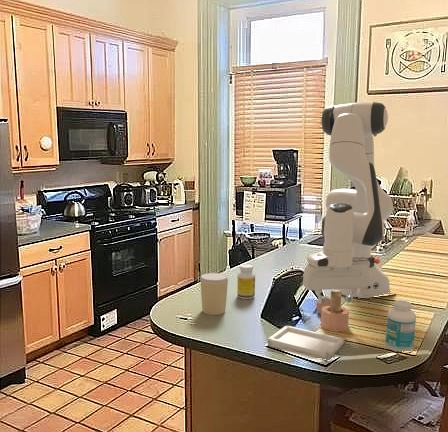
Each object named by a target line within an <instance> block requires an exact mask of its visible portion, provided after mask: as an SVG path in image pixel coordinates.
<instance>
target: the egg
mask: <svg viewBox="0 0 448 432" xmlns="http://www.w3.org/2000/svg"><path fill="white" fill-rule="evenodd" d="M322 296H323V297H324V298H325V301H324V302H325V303H324V304H319V303H318V301H317V302H316V306H315V308H316V311H317V312H316V313H317V314H319V315H320V316H321V309H322V307H325V306H330V298H329V296H326V295H322Z"/></svg>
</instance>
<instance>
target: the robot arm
mask: <svg viewBox="0 0 448 432" xmlns="http://www.w3.org/2000/svg"><path fill="white" fill-rule="evenodd" d="M388 119H389V113H388V110H387V109H386V106H385V105H384V103H381V102H376V101H375V102H374V101H373V102H360V101H359V102H352V103H351V102H350V103H343V104H338V105H335V104H333V105H329V106H326V107H325V108H324V110H323V111H322V114H321V119H320V120H321V121H320V124H321V128H322V131H323V132H324V133H325V134H326V135H327V136H330V140H329V150H328V153H329V156H328V157H329V163H330V165H331V167H332V168H333V169H334V170H335V171H336V172H337V173H339V174H341V175H342V176H344V177H345V178H346V179H348V180H349V181H350V182H351V183H352V185H353V186H354V188H345V187H344V188H337V189H336V188H335V189H332V190H330V192H329V193H328V194H327V195H326V198H325V207H326V212H325V216H324V217H323V218H322V220H321V236H322V237H323V238H324V243H323V246H322V250H320V251H318V252H315V253H312V254H311V253H310V254H309V255H307V257H306V261H307V262H308V263H307V264H306V265H305V267H304V269H303V277H302V285H303V287H304V288H305V289H306V290H307V291H314V293H315V294H316V296H317V302H318V303H319V304H324V303H325V302H324V301H325V298H324V297H323V296H324V295H321V294H322V291H323V290H339V291H341V292H342V293H341V296H345V301H346V302H347V303H353V302H354V299H353V298H356V297H358V298H357V299H360V298H369V297H374V296H379V295H384V294H391V293H390V292H391V291H390V287H391V286H390V280H389V278H388V276H387V274H385V272H383V271H382V270H381V269H379V268H378V267H377V266H375V264H376V265H379V264H380V263H381V259H380V258H378V257H373V256H372V247H374V246H376V245H377V244H378V243H379V244H380V242H381V241H383V240H384V236H385V224H384V221H386V220H388V219H389V218H390V216H391V215H392V213H393V210H394V202H393V199H392V198H391V197H390V195H389V194H388V193H386V192H385V191H384V189H383V188H382V187H381V185H380V184H379V181H378V179H377V174H376V169H375V144H374V137H377V135H379V134H381V133H382V132H384V131H385V129H386V127H387V125H388V123H389V122H388V121H389V120H388ZM388 292H389V293H388ZM383 293H384V294H383Z"/></svg>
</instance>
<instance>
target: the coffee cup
mask: <svg viewBox="0 0 448 432" xmlns="http://www.w3.org/2000/svg"><path fill="white" fill-rule="evenodd" d="M199 281H200V295H201V307H202V308H201V309H202V313H203V314H206V315H211V316H217V315H222V314H224V313H226V308H227V306H226V305H227V299H228V298H227V295H228V281H229V277H228V275H227V274H225V273H221V272H220V273H219V272H208V273H203V274H202V275H200V278H199Z"/></svg>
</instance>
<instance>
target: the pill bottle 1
mask: <svg viewBox="0 0 448 432" xmlns="http://www.w3.org/2000/svg"><path fill="white" fill-rule="evenodd" d="M239 270H240V272H237V278H236V279H237V280H236V281H237V283H236V284H237V289H236V292H237V293H236V294H237V295H236V296H237V297H238V298H239V299H243V300H251V299H253V298H254V297H255V295H256V274H255V273H254V272H253V270H254V266H253V264H240V266H239Z"/></svg>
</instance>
